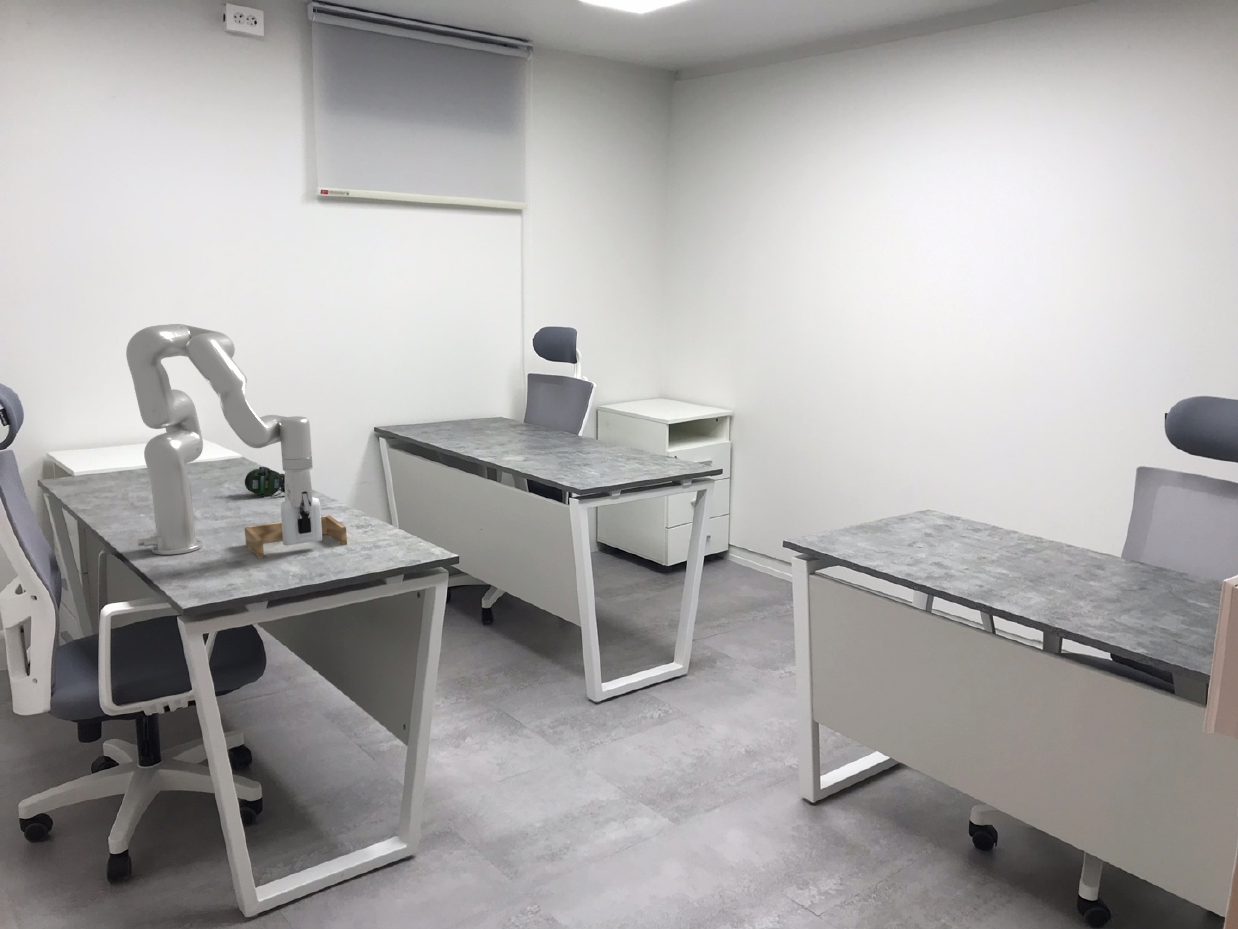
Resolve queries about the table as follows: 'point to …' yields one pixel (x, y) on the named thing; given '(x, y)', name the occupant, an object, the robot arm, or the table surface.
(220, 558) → the table surface
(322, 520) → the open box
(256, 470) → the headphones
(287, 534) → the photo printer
